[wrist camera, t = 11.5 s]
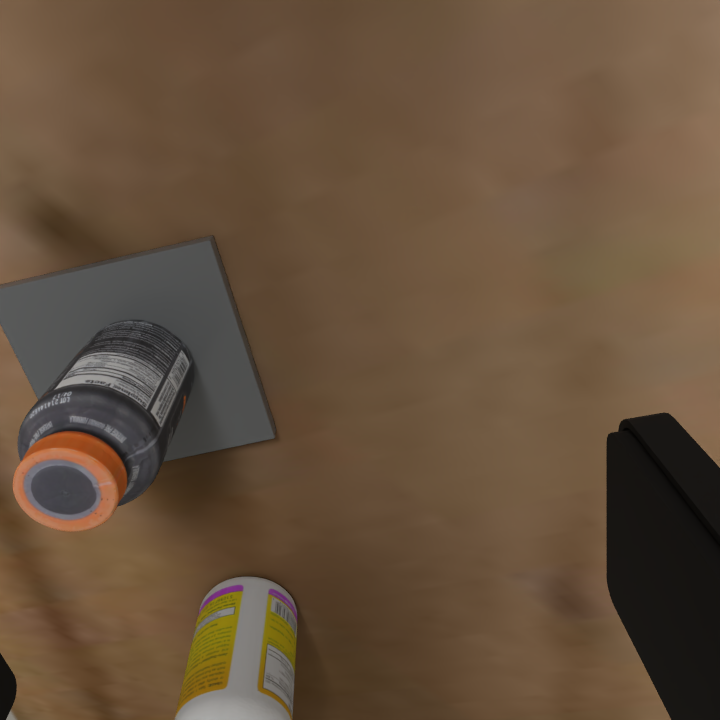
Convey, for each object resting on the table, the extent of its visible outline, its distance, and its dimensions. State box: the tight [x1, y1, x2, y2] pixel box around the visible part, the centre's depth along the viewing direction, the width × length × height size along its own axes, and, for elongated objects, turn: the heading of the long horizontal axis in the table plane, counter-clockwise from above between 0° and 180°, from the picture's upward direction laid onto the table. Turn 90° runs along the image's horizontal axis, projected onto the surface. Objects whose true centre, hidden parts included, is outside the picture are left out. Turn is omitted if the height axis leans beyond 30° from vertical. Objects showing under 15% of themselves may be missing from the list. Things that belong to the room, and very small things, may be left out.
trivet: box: [0, 236, 276, 462], centre depth 35 cm, size 12×12×1 cm
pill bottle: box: [13, 319, 195, 532], centre depth 30 cm, size 6×6×11 cm
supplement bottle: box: [175, 576, 297, 720], centre depth 38 cm, size 7×7×13 cm
